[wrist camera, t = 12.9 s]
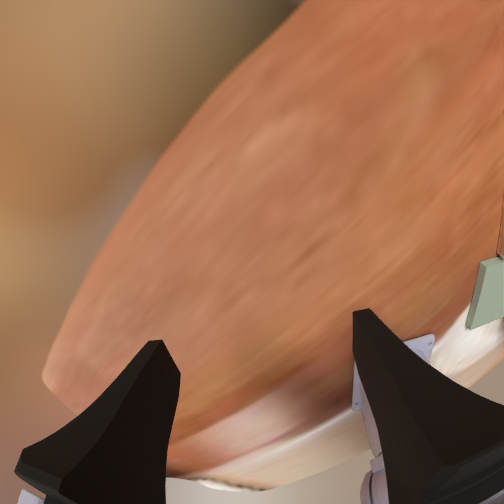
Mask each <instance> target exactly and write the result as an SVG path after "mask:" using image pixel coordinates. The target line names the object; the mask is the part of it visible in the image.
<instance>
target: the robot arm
mask: <svg viewBox="0 0 504 504" xmlns="http://www.w3.org/2000/svg"><path fill="white" fill-rule="evenodd" d="M434 341H435V336H434V334H428V335H425V336H422V337H418V338H415V339H411V340H408V341H404V342H402V341H401V340H400V339H399V338H398V337H397V336H396V335H395V334H394V333H393V332H392V331H391V330H390V329H389V328H388V327H387V326H386V325H385V324H384V323H383V322H382V321H381V320H380V319H379V318H378V317H377V316H376V315H375V313H374V312H373V311H372V310H370V309H369V308H368V309H363V310H359V311H354V312H353V354H354V377H353V393H352V410H354V411H355V410H360V409H361V410H362V414H363V418H364V422H365V426H366V430H367V434H368V438H369V442H370V447H371V450H372V453H373V455H374V456H375V457H376V458H375V459H373V460H371V461H370V464H371V468H372V470H370V471H369V472H368V473H367V474H366V475H365V477H364V480H363V483H362V485H361V491H360V498H361V504H504V405H501V404H498V403H496V402H493V401H491V400H489V399H486V398H484V397H482V396H480V395H478V394H476V393H474V392H472V391H470V390H468V389H466V388H465V387H463V386H461V385H459V384H457V383H456V382H454V381H452V380H451V379H449V378H448V377H446V376H445V375H443V374H442V373H440V372H439V371H438V370H436V369H435V368H433V367H432V366H431V365H430V364H429V359H430V356H431V352H432V349H433V345H434ZM180 376H181V373H180V371H179V369H178V368H177V366H176V364H175V362H174V361H173V359H172V357H171V355H170V353H169V352H168V350H167V348H166V346H165V344H164V342H163V340H153V341H148V342H147V343H146V344H145V345H144V347H143V348H142V349H141V350H140V351H139V352H138V353H137V355H136V356H135V357H134V358H133V359H132V361H131V362H130V363H129V364H128V365H127V367H126V368H125V369H124V370H123V371H122V372H121V374H120V375H119V376H118V377H117V378H116V379H115V380H114V381H113V383H112V384H111V385H110V386H109V387H108V388H107V389H106V390H105V391H104V392H103V393H102V394H101V396H100V397H99V398H98V399H96V400H95V401H94V402H93V403H92V404H91V405H90V406H89V407H88V408H87V409H86V410H85V411H83V412H82V413H81V414H80V415H79V416H77V417H76V418H75V419H73V420H72V421H71V422H69V423H68V424H67V425H65V426H64V427H63V428H61V429H60V430H58V431H57V432H55V433H53V434H52V435H50V436H48V437H47V438H45V439H43V440H41V441H39V442H37V443H35V444H33V445H31V446H29V447H27V448H24V449H23V451H22V453H21V455H20V458H19V461H18V463H17V465H16V468H15V471H14V472H15V474H16V475H17V476H18V477H20V478H21V479H22V480H24V481H25V482H27V483H28V484H30V485H31V486H33V487H34V488H36V489H38V490H39V491H41V492H42V493H44V494H46V498H45V499H43V498H41V497H39V496H37V495H36V494H34V493H32V492H30V491H28V490H26V489H22V491H21V494H20V497H19V500H18V503H17V504H166V496H165V481H166V461H167V450H168V443H169V438H170V434H171V429H172V425H173V420H174V416H175V411H176V407H177V402H178V397H179V389H180Z"/></svg>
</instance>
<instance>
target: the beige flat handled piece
mask: <svg viewBox="0 0 504 504" xmlns="http://www.w3.org/2000/svg"><path fill="white" fill-rule="evenodd" d="M496 253H498V254H499V255H500V256H501V257H502V258H503V259H504V200H503V210H502V219H501V227H500V234H499V240H498V246H497V252H496Z"/></svg>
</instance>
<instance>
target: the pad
mask: <svg viewBox="0 0 504 504" xmlns="http://www.w3.org/2000/svg"><path fill="white" fill-rule="evenodd" d="M501 317H504V259H503V258H502V257H501V256H499V257H495V258H492V259H488V260H485V261H481V262H480V266H479V271H478V276H477V281H476V285H475V290H474V294H473V298H472V302H471V306H470V310H469V313H468V317H467V320H466V325H467V326H468V328H469V329H470V330H472V329H474V328H477V327H479V326H482V325H485V324H487V323H489V322H492V321H494V320H497V319H499V318H501Z"/></svg>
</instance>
